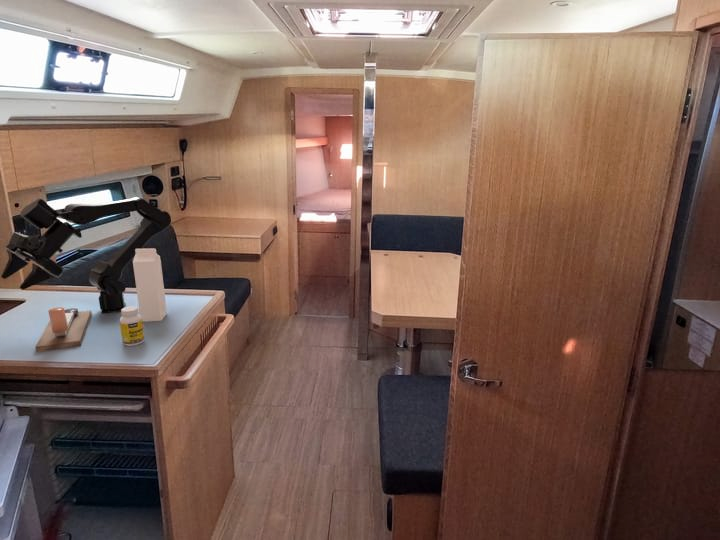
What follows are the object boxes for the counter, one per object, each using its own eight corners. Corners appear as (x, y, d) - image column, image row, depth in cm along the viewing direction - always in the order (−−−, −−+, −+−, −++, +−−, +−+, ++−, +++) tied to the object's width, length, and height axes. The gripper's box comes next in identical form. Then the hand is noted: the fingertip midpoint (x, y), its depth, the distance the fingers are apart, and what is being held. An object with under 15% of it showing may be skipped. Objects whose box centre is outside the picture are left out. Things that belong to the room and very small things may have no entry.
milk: (161, 321, 140) (152, 251, 133) (140, 321, 139) (130, 251, 133) (167, 313, 145) (159, 246, 139) (147, 314, 145) (138, 246, 138)
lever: (79, 311, 142) (75, 289, 140) (68, 335, 124) (63, 310, 122) (64, 312, 140) (60, 290, 138) (51, 338, 123) (46, 313, 120)
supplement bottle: (130, 348, 122) (125, 313, 119) (118, 343, 124) (113, 309, 122) (149, 341, 126) (144, 307, 123) (137, 336, 129) (132, 303, 126)
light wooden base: (91, 314, 144) (91, 310, 144) (80, 345, 123) (79, 340, 122) (54, 319, 140) (53, 314, 140) (36, 352, 119) (35, 346, 119)
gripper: (12, 213, 129) (-33, 257, 123) (50, 231, 121) (5, 278, 115) (42, 237, 138) (2, 278, 132) (80, 255, 130) (40, 300, 124)
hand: (11, 283), depth 126 cm, fingers open, 9 cm apart
